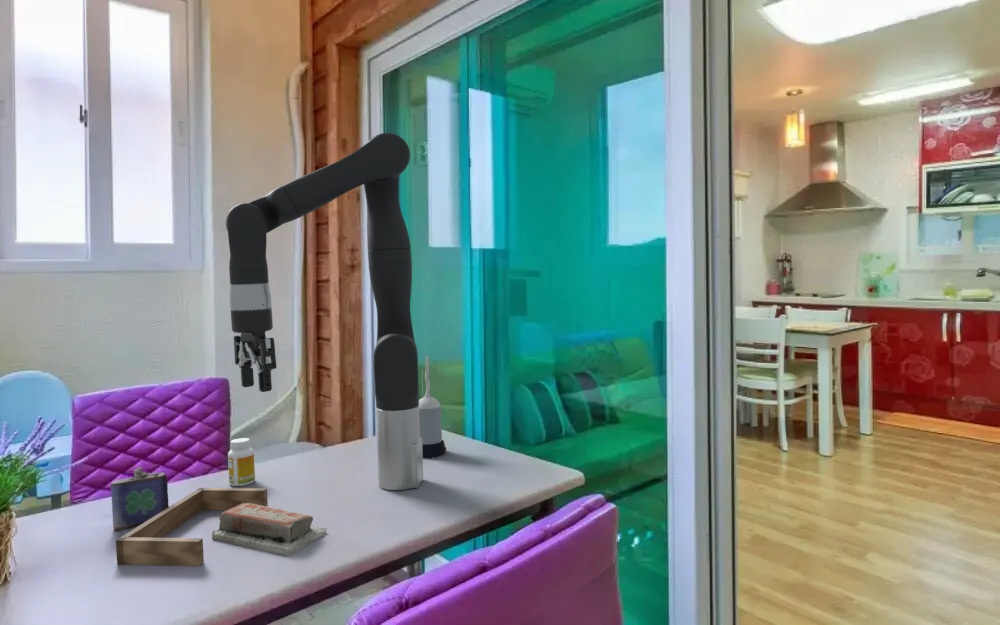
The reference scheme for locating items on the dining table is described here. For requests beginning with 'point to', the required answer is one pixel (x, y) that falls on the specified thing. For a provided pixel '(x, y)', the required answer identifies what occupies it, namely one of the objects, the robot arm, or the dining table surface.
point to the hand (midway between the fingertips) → (256, 388)
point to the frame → (148, 537)
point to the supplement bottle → (241, 463)
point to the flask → (138, 498)
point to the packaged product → (266, 528)
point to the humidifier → (430, 422)
